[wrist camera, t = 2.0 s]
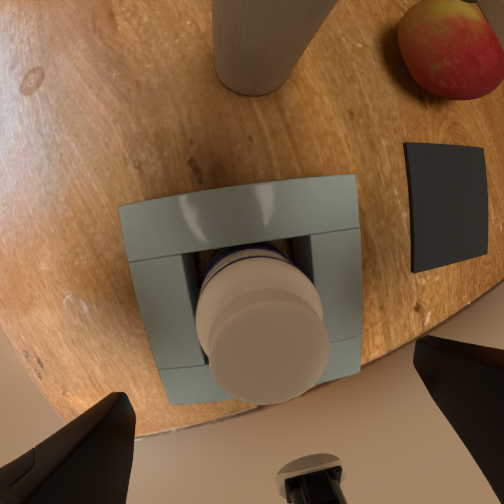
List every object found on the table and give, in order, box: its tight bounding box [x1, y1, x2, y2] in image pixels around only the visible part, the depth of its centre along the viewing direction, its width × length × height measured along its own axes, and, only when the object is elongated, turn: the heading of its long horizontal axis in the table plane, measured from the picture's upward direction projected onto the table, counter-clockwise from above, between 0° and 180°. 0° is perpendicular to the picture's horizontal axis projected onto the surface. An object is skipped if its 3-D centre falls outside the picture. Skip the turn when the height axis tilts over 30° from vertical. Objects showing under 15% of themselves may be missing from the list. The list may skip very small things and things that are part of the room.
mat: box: [404, 142, 488, 273], centre depth 18 cm, size 9×9×1 cm
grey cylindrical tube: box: [212, 0, 338, 96], centre depth 10 cm, size 4×4×10 cm
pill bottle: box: [195, 241, 331, 405], centre depth 13 cm, size 5×5×9 cm
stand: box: [118, 174, 363, 405], centre depth 15 cm, size 11×11×4 cm
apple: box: [398, 0, 504, 100], centre depth 12 cm, size 8×8×8 cm
